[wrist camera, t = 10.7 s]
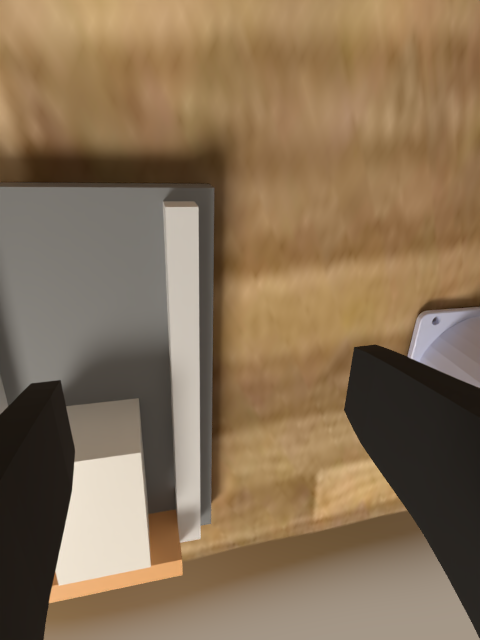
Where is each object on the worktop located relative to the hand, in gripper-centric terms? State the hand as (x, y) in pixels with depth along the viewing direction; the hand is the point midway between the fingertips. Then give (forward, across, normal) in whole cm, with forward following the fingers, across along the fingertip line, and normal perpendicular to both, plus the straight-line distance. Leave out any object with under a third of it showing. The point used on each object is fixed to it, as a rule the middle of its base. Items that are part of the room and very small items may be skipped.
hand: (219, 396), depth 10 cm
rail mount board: (+9, +4, +6) cm, 12 cm away
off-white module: (+8, +4, +9) cm, 13 cm away
